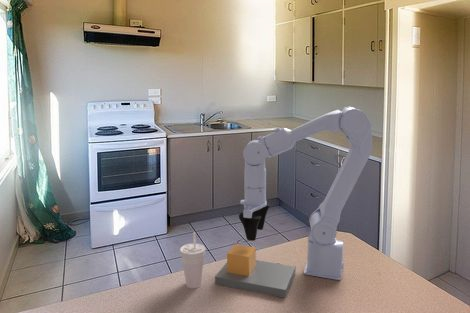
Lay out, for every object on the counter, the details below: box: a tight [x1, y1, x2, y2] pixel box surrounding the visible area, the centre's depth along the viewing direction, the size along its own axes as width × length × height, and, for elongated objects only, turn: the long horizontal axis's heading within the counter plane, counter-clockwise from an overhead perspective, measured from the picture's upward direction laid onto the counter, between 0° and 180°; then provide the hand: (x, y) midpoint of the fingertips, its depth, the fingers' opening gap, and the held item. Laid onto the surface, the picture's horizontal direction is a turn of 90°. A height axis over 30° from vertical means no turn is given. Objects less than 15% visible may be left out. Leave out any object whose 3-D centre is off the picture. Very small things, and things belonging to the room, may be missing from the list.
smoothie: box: [179, 231, 207, 289], centre depth 92 cm, size 6×6×14 cm
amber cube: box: [226, 243, 257, 276], centre depth 96 cm, size 6×6×5 cm
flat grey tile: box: [214, 259, 297, 298], centre depth 95 cm, size 18×12×5 cm, turn 70°
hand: (255, 234), depth 100 cm, fingers open, 7 cm apart
